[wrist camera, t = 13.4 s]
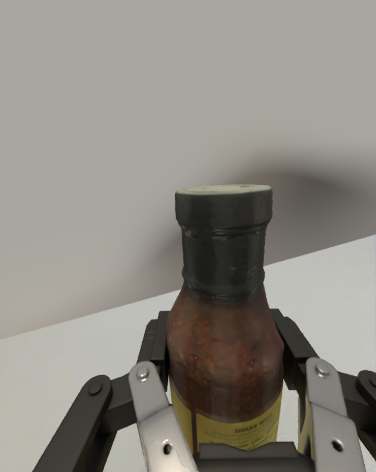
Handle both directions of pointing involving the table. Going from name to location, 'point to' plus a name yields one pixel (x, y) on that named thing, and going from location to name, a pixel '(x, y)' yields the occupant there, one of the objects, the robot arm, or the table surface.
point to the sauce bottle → (224, 320)
